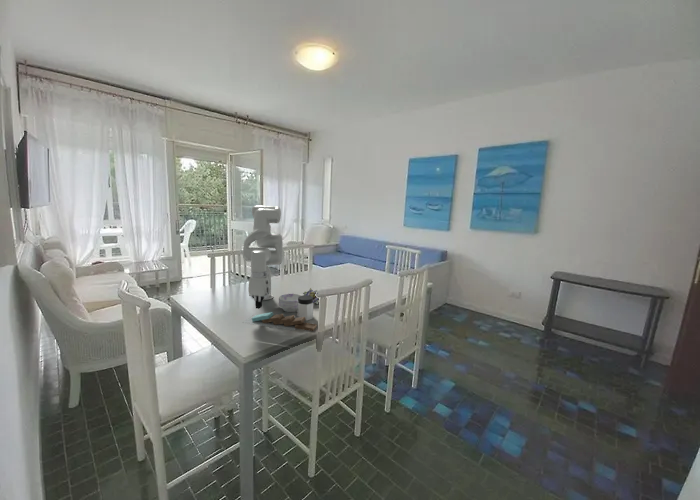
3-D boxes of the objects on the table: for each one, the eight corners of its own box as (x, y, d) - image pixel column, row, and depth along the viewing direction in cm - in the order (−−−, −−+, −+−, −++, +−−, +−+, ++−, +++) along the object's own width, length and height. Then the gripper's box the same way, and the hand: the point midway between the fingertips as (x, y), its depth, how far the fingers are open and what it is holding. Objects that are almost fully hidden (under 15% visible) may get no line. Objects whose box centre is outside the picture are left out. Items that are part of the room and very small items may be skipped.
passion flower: (312, 314, 180) (303, 301, 173) (305, 305, 189) (297, 293, 182) (326, 303, 183) (318, 290, 176) (319, 294, 191) (311, 282, 185)
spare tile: (251, 318, 151) (268, 315, 149) (256, 314, 156) (272, 311, 154) (252, 321, 151) (269, 318, 149) (257, 318, 156) (273, 315, 154)
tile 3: (272, 321, 149) (290, 318, 146) (277, 317, 153) (294, 315, 151) (273, 324, 149) (291, 321, 146) (278, 321, 154) (295, 318, 151)
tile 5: (294, 324, 146) (313, 328, 144) (298, 321, 151) (316, 324, 149) (294, 328, 146) (313, 331, 144) (298, 324, 151) (316, 327, 149)
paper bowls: (290, 303, 182) (290, 291, 180) (309, 308, 175) (310, 296, 173) (273, 310, 168) (273, 297, 167) (293, 316, 161) (294, 303, 160)
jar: (306, 313, 166) (306, 293, 164) (315, 318, 161) (316, 297, 159) (294, 318, 160) (294, 297, 158) (303, 322, 154) (304, 301, 152)
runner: (242, 323, 150) (242, 322, 150) (252, 315, 160) (252, 315, 160) (294, 331, 144) (294, 330, 144) (301, 323, 153) (301, 322, 153)
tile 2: (261, 319, 150) (278, 317, 147) (266, 316, 155) (283, 313, 152) (262, 323, 150) (279, 320, 148) (267, 319, 155) (284, 316, 152)
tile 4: (283, 323, 147) (301, 320, 145) (287, 319, 152) (304, 316, 150) (284, 326, 148) (302, 323, 145) (288, 322, 152) (305, 319, 150)
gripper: (275, 273, 151) (275, 307, 154) (249, 271, 154) (250, 303, 157) (268, 277, 144) (268, 312, 147) (241, 274, 147) (241, 308, 150)
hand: (258, 307), depth 152 cm, fingers closed
